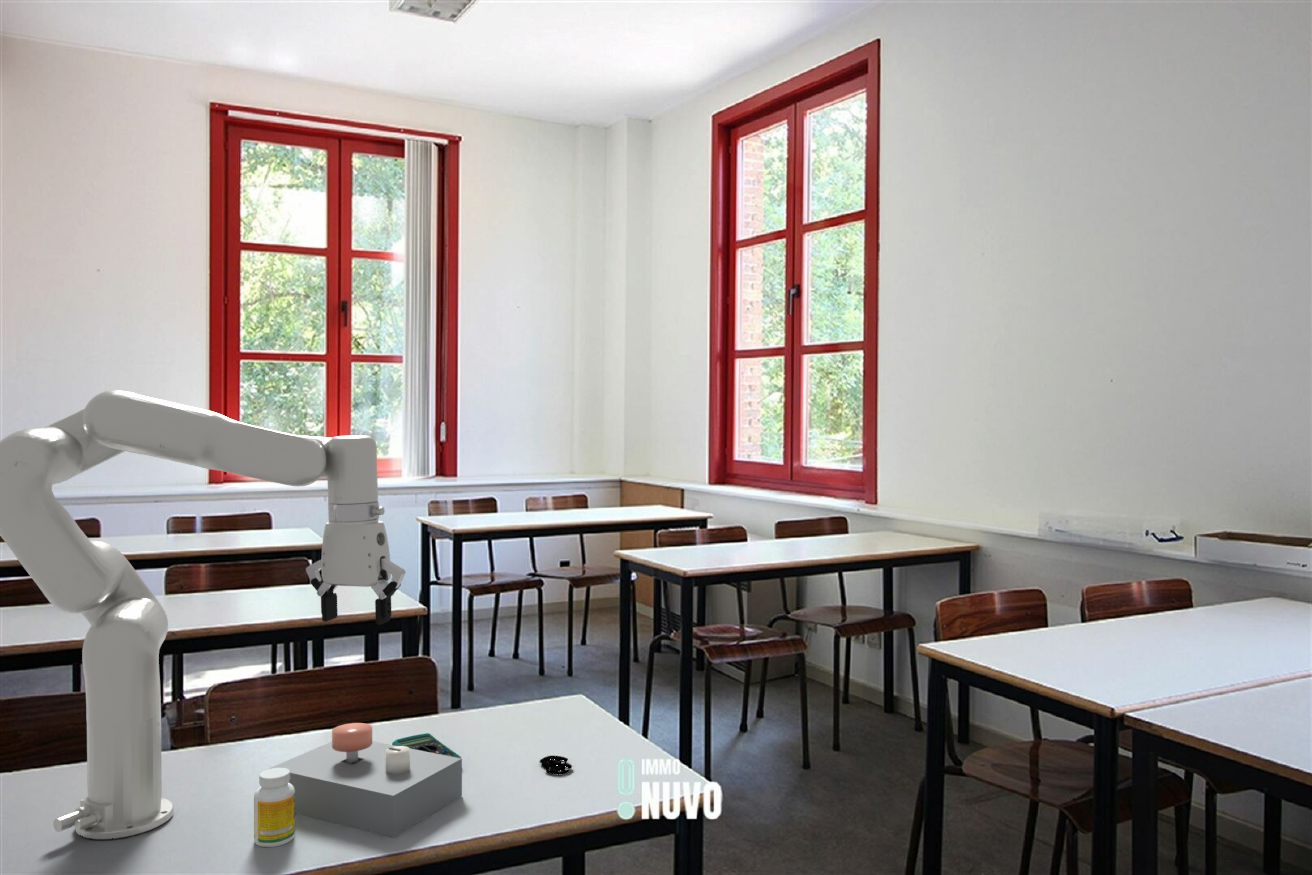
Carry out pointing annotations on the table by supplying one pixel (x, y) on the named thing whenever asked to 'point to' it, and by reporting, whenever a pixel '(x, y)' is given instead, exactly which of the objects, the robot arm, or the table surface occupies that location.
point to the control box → (372, 787)
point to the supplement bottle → (274, 808)
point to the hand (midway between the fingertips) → (356, 621)
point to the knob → (397, 759)
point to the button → (352, 739)
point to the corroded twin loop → (553, 763)
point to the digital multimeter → (425, 744)
